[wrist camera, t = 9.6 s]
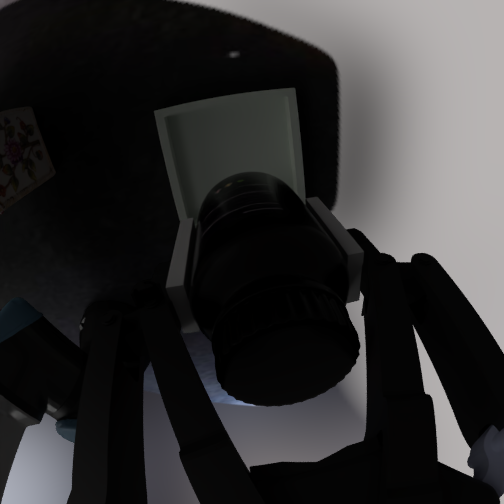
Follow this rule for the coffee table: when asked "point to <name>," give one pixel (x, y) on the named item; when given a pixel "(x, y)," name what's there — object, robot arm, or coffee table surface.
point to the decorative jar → (21, 156)
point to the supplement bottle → (270, 293)
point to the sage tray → (230, 143)
